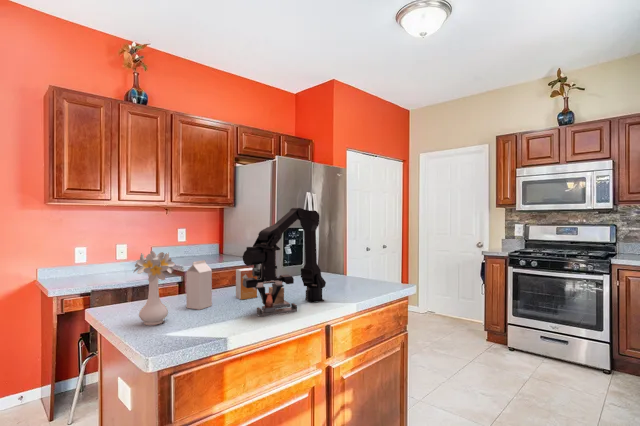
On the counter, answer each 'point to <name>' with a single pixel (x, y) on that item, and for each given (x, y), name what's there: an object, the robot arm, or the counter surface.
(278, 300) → the block
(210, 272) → the milk carton
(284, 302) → the plate
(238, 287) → the small box
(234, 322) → the counter surface
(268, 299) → the handle
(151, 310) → the flower vase
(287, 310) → the rail
